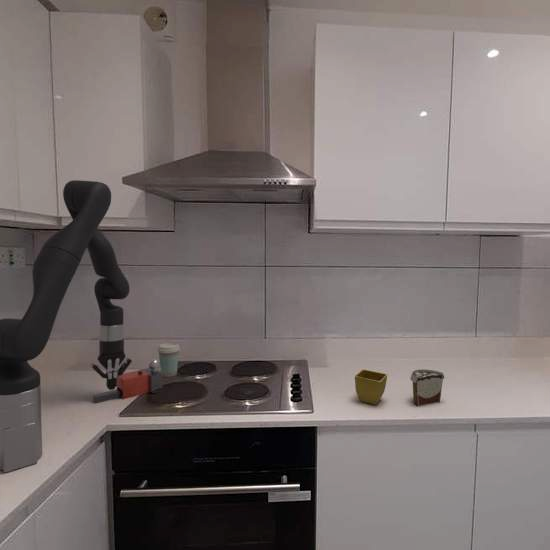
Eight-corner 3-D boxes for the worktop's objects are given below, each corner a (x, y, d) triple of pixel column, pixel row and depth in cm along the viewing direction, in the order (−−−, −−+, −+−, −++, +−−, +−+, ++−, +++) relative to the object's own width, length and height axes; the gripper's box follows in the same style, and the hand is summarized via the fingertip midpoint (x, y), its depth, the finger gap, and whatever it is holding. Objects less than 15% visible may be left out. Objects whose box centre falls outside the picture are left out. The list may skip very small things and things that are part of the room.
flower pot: (387, 399, 122) (387, 373, 121) (379, 408, 114) (380, 381, 114) (361, 393, 126) (362, 369, 126) (353, 402, 119) (354, 376, 119)
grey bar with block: (165, 390, 127) (165, 361, 126) (98, 407, 113) (97, 374, 112) (154, 382, 135) (154, 354, 134) (90, 397, 120) (89, 366, 120)
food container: (429, 395, 126) (430, 367, 126) (443, 402, 120) (444, 372, 120) (401, 399, 122) (402, 371, 121) (414, 407, 116) (415, 377, 115)
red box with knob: (149, 392, 125) (149, 372, 125) (123, 399, 119) (122, 377, 119) (142, 387, 130) (142, 367, 129) (116, 393, 124) (116, 372, 124)
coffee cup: (184, 374, 144) (184, 345, 143) (165, 380, 138) (165, 349, 137) (172, 369, 150) (172, 341, 149) (153, 374, 143) (153, 345, 142)
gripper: (93, 342, 112) (93, 396, 113) (135, 337, 121) (135, 387, 121) (87, 338, 118) (87, 390, 118) (128, 333, 126) (128, 381, 127)
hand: (111, 388), depth 120 cm, fingers closed
